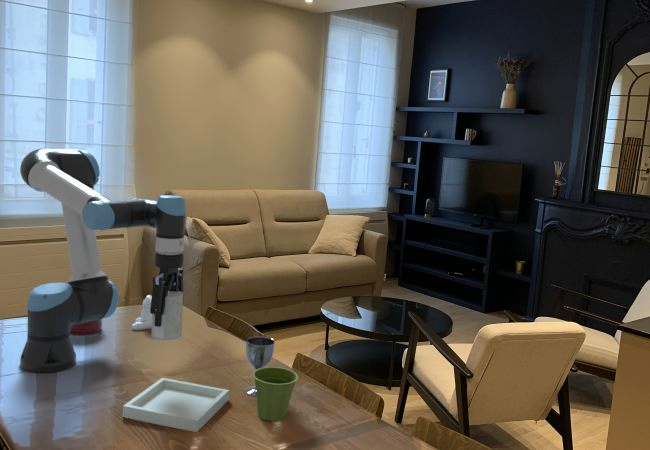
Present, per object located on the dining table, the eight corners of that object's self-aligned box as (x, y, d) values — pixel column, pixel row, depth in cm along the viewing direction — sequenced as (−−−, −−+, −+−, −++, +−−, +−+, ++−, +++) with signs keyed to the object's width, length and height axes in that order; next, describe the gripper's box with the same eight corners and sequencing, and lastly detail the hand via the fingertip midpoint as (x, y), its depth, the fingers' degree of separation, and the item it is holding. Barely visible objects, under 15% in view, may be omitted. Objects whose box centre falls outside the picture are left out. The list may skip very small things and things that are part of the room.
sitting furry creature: (136, 322, 231) (137, 290, 229) (159, 323, 232) (161, 292, 230) (130, 330, 221) (132, 297, 220) (155, 331, 222) (157, 298, 221)
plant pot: (277, 431, 156) (280, 388, 154) (240, 416, 162) (243, 375, 160) (303, 415, 166) (307, 374, 164) (268, 402, 172) (271, 363, 170)
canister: (93, 337, 211) (95, 286, 209) (55, 333, 211) (57, 283, 209) (107, 325, 224) (109, 277, 222) (71, 322, 224) (73, 274, 222)
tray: (122, 417, 156) (123, 405, 155) (161, 387, 175) (162, 377, 175) (196, 432, 151) (197, 420, 151) (228, 400, 171) (229, 390, 170)
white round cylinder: (174, 341, 169) (175, 298, 168) (146, 337, 171) (147, 295, 169) (186, 333, 177) (187, 291, 176) (159, 329, 179) (160, 288, 177)
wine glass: (275, 389, 181) (279, 339, 179) (263, 399, 173) (267, 347, 171) (250, 383, 183) (253, 334, 181) (238, 393, 176) (241, 342, 174)
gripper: (164, 260, 160) (161, 345, 163) (198, 248, 180) (194, 324, 183) (137, 256, 161) (134, 341, 164) (174, 245, 182) (171, 321, 185)
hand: (166, 332), depth 174 cm, fingers closed on white round cylinder, 8 cm apart
